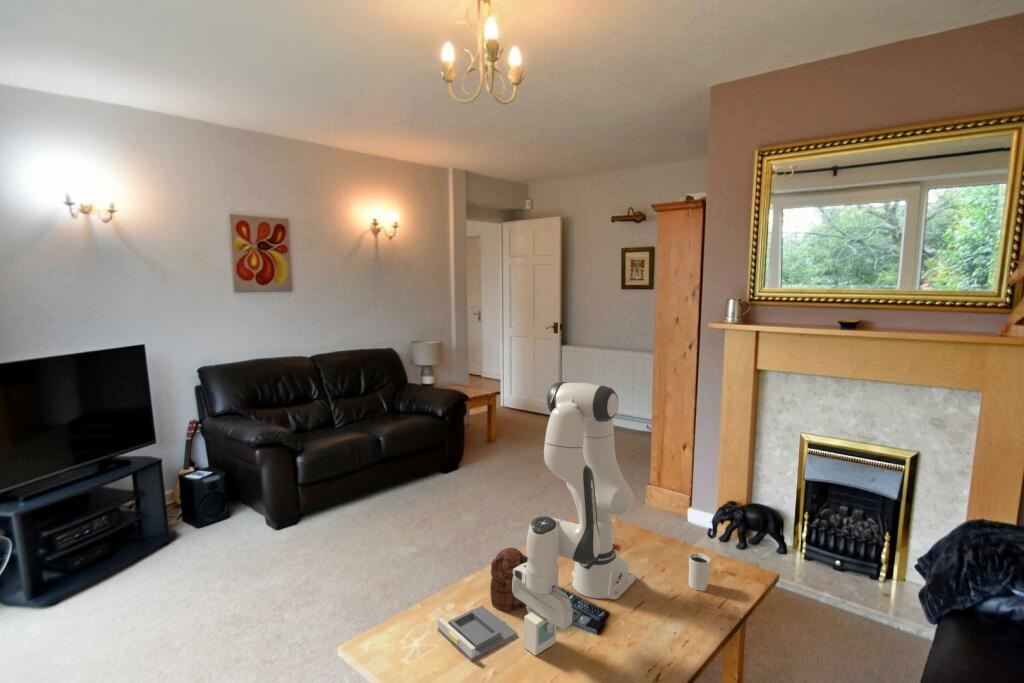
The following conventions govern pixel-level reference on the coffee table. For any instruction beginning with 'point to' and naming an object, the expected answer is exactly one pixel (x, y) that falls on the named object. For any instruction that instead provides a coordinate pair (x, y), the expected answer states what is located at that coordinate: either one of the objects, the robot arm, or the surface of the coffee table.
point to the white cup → (698, 570)
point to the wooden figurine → (505, 579)
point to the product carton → (537, 633)
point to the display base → (476, 632)
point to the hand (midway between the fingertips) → (540, 625)
